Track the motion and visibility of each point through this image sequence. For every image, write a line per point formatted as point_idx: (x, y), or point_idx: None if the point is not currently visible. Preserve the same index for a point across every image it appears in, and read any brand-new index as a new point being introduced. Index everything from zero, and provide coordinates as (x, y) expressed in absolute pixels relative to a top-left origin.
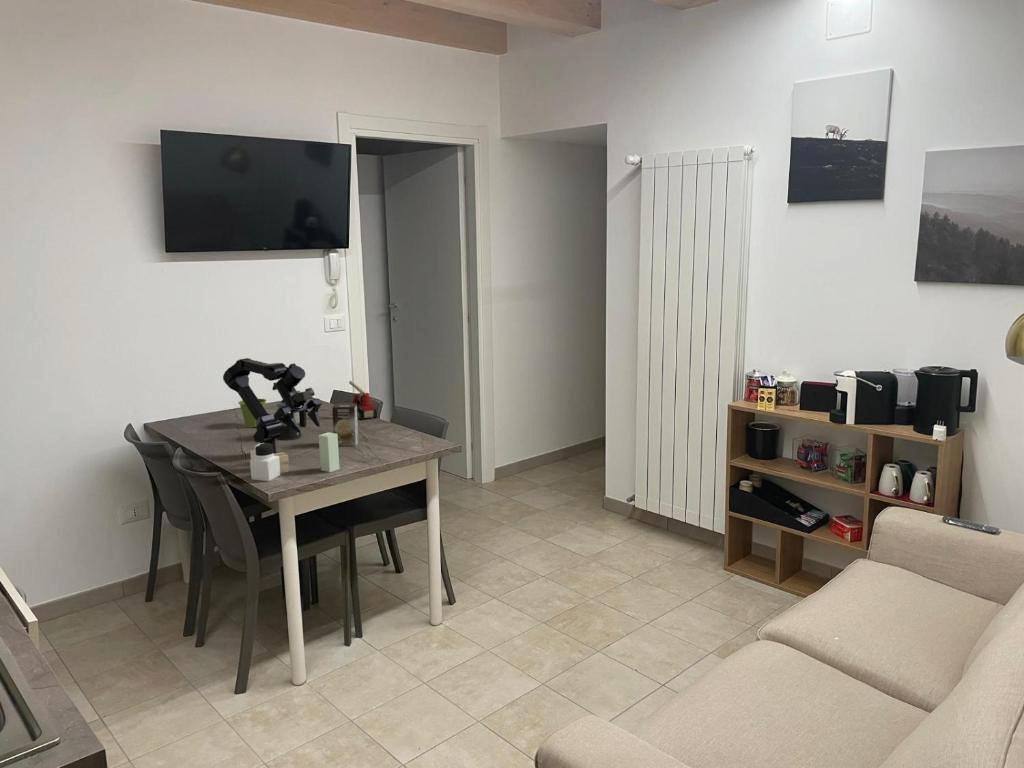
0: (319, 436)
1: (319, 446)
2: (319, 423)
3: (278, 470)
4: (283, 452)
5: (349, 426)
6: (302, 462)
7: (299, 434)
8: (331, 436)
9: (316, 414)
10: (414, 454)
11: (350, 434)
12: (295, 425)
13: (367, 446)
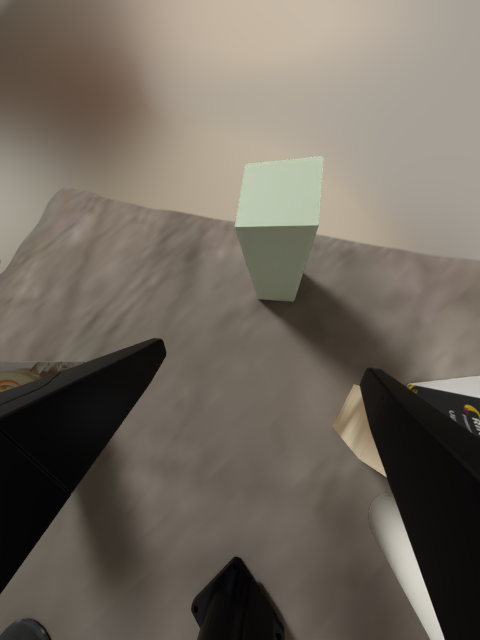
0: (317, 225)
1: (305, 264)
2: (143, 343)
3: (436, 385)
4: (363, 455)
5: (5, 381)
6: (256, 407)
7: (9, 637)
8: (291, 163)
9: (30, 395)
10: (118, 206)
11: (45, 375)
12: (469, 437)
13: (84, 331)
